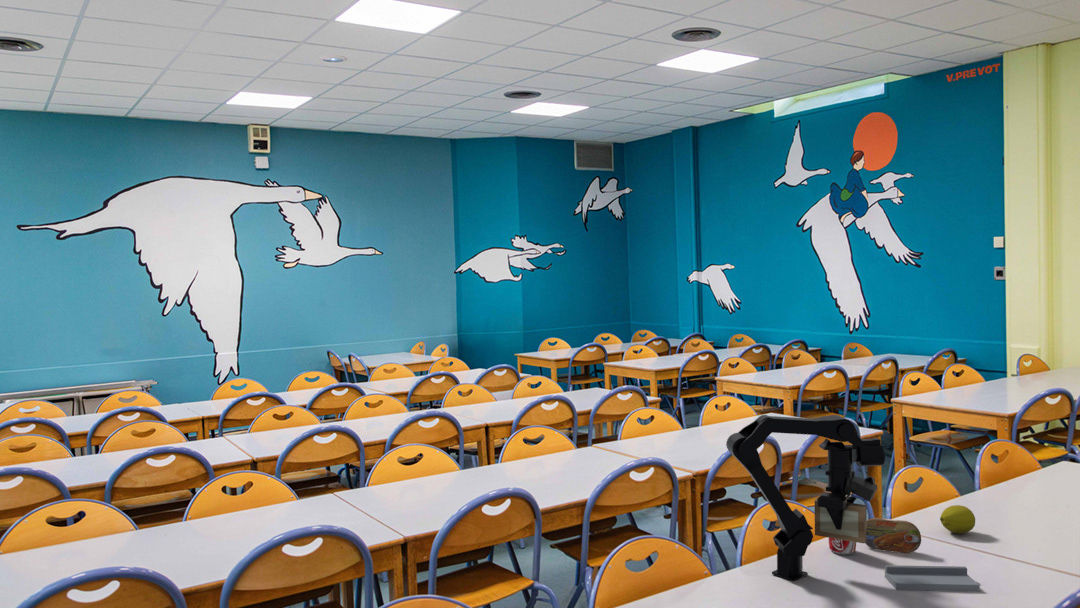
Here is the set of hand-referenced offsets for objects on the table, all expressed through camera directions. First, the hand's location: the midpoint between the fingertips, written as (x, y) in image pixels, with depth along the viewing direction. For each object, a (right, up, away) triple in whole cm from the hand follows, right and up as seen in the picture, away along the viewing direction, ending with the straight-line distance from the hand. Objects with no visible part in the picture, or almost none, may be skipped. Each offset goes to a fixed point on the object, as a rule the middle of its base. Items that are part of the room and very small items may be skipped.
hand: (840, 528), depth 200 cm
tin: (+20, -11, +17) cm, 29 cm away
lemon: (+45, -10, +30) cm, 55 cm away
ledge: (+19, -12, -7) cm, 24 cm away
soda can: (+7, -11, +16) cm, 21 cm away
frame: (0, -3, 0) cm, 2 cm away
